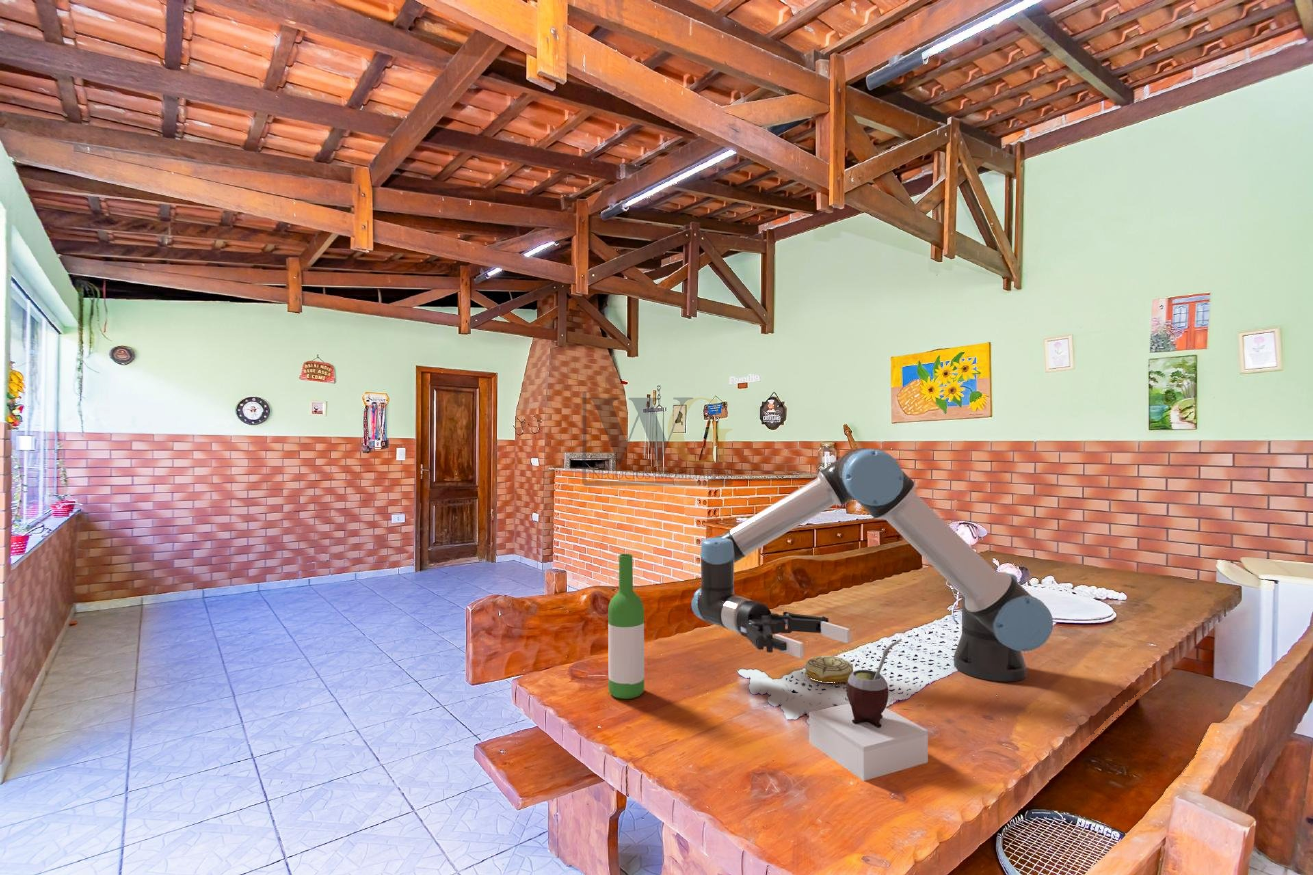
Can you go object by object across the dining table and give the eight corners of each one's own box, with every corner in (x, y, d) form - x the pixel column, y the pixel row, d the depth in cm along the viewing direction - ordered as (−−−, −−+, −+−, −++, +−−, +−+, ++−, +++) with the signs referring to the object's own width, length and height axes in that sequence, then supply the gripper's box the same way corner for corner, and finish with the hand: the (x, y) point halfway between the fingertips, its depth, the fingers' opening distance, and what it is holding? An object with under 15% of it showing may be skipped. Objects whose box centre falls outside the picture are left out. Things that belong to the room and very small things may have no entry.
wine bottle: (610, 685, 140) (609, 551, 140) (645, 686, 140) (644, 551, 140) (606, 700, 133) (605, 558, 133) (643, 700, 132) (642, 558, 132)
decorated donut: (795, 672, 148) (795, 656, 148) (833, 666, 152) (833, 650, 152) (822, 689, 139) (822, 671, 139) (862, 681, 142) (862, 665, 142)
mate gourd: (838, 715, 113) (838, 631, 113) (873, 708, 116) (873, 626, 116) (867, 733, 106) (866, 644, 106) (903, 725, 109) (903, 638, 109)
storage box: (809, 745, 114) (809, 712, 114) (869, 730, 120) (869, 698, 120) (863, 784, 102) (863, 746, 102) (927, 765, 107) (927, 730, 107)
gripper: (787, 624, 144) (866, 649, 127) (703, 646, 129) (780, 678, 112) (786, 591, 144) (866, 612, 127) (703, 609, 129) (780, 636, 112)
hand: (826, 643), depth 119 cm, fingers open, 13 cm apart
